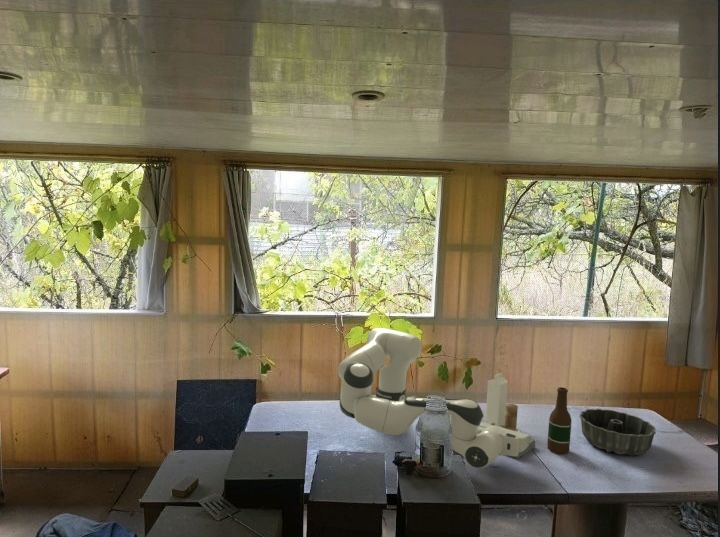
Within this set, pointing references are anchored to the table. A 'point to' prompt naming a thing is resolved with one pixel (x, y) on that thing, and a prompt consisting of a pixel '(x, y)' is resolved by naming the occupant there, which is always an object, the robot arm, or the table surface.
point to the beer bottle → (559, 425)
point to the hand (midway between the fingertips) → (505, 427)
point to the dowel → (510, 416)
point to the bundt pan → (617, 431)
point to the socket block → (531, 446)
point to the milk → (496, 400)
